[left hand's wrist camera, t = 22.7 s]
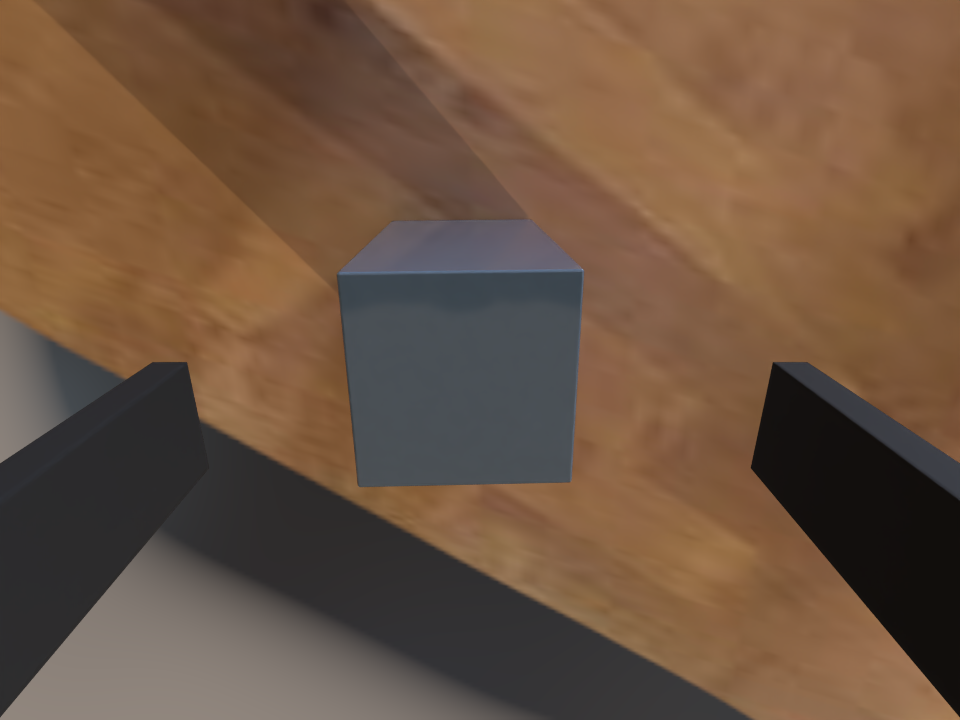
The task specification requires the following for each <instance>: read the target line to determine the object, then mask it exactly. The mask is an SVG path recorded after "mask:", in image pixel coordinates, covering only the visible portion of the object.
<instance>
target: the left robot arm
mask: <svg viewBox="0 0 960 720" xmlns="http://www.w3.org/2000/svg"><path fill="white" fill-rule="evenodd" d="M208 469H209V465H208V460H207V455H206V450H205V446H204V441H203V436H202V431H201V427H200V422H199V417H198V412H197V408H196V403H195V398H194V393H193V389H192V384H191V379H190V374H189V370H188V365H187V362H152V363H151V364H149V365H148V366H146V367H145V368H143V369H142V370H140V371H139V372H137V373H136V374H134V375H133V376H131V377H130V378H128V379H127V380H125V381H124V382H122V383H121V384H119V385H118V386H116V387H115V388H113V389H112V390H110V391H109V392H107V393H106V394H104V395H103V396H101V397H100V398H98V399H97V400H95V401H94V402H92V403H91V404H89V405H88V406H86V407H85V408H83V409H82V410H80V411H79V412H77V413H76V414H74V415H73V416H71V417H70V418H68V419H66V420H65V421H64V422H62V423H60V424H59V425H57V426H56V427H54V428H53V429H52V430H50V431H48V432H47V433H45V434H44V435H42V436H41V437H39V438H38V439H36V440H35V441H33V442H32V443H30V444H29V445H27V446H26V447H24V448H23V449H21V450H20V451H18V452H17V453H15V454H14V455H12V456H11V457H9V458H8V459H6V460H5V461H3V462H2V463H0V717H1V716H2V714H3V713H4V712H5V711H6V710H7V708H8V707H9V706H10V705H11V704H12V702H13V701H14V700H15V699H16V698H17V697H18V695H19V694H20V693H21V692H22V691H23V689H24V688H25V687H26V686H27V685H28V683H29V682H30V681H31V680H32V679H33V678H34V676H35V675H36V674H37V673H38V671H39V670H40V669H41V668H42V667H43V666H44V664H45V663H46V662H47V661H48V660H49V658H50V657H51V656H52V655H53V654H54V652H55V651H56V650H57V649H58V648H59V646H60V645H61V644H62V643H63V642H64V641H65V639H66V638H67V637H68V636H69V634H70V633H71V632H72V631H73V630H74V629H75V627H76V626H77V625H78V624H79V623H80V621H81V620H82V619H83V618H84V617H85V615H86V614H87V613H88V612H89V611H90V610H91V608H92V607H93V606H94V605H95V604H96V602H97V601H98V600H99V599H100V598H101V596H102V595H103V594H104V593H105V592H106V590H107V589H108V588H109V587H110V586H111V584H112V583H113V582H114V581H115V580H116V579H117V577H118V576H119V575H120V574H121V573H122V571H123V570H124V569H125V568H126V567H127V565H128V564H129V563H130V562H131V561H132V559H133V558H134V557H135V556H136V555H137V553H138V552H139V551H140V550H141V549H142V548H143V546H144V545H145V544H146V543H147V542H148V540H149V539H150V538H151V537H152V536H153V534H154V533H155V532H156V531H157V530H158V528H159V527H160V526H161V525H162V524H163V523H164V521H165V520H166V519H167V518H168V517H169V515H170V514H171V513H172V512H173V511H174V509H175V508H176V507H177V506H178V505H179V503H180V502H181V501H182V500H183V499H184V497H185V496H186V495H187V494H188V493H189V491H190V490H191V489H192V488H193V487H194V485H195V484H196V483H197V482H198V481H199V480H200V478H201V477H202V476H203V475H204V474H205V472H206V471H207V470H208ZM751 469H752V470H753V471H754V472H755V474H756V475H757V476H758V477H759V478H760V480H761V481H762V482H763V483H764V484H765V486H766V487H767V488H768V489H769V490H770V492H771V493H772V494H773V495H774V496H775V497H776V499H777V500H778V501H779V502H780V503H781V505H782V506H783V507H784V508H785V509H786V511H787V512H788V513H789V514H790V515H791V517H792V518H793V519H794V520H795V521H796V523H797V524H798V525H799V526H800V527H801V528H802V530H803V531H804V532H805V533H806V534H807V536H808V537H809V538H810V539H811V540H812V542H813V543H814V544H815V545H816V546H817V548H818V549H819V550H820V551H821V552H822V554H823V555H824V556H825V557H826V558H827V559H828V561H829V562H830V563H831V564H832V565H833V567H834V568H835V569H836V570H837V571H838V573H839V574H840V575H841V576H842V577H843V579H844V580H845V581H846V582H847V583H848V585H849V586H850V587H851V588H852V589H853V590H854V592H855V593H856V594H857V595H858V596H859V598H860V599H861V600H862V601H863V602H864V604H865V605H866V606H867V607H868V608H869V610H870V611H871V612H872V613H873V614H874V616H875V617H876V618H877V619H878V620H879V621H880V623H881V624H882V625H883V626H884V627H885V629H886V630H887V631H888V632H889V633H890V635H891V636H892V637H893V638H894V639H895V641H896V642H897V643H898V644H899V645H900V647H901V648H902V649H903V650H904V651H905V652H906V654H907V655H908V656H909V657H910V658H911V660H912V661H913V662H914V663H915V664H916V666H917V667H918V668H919V669H920V670H921V672H922V673H923V674H924V675H925V676H926V678H927V679H928V680H929V681H930V682H931V683H932V685H933V686H934V687H935V688H936V689H937V691H938V692H939V693H940V694H941V695H942V697H943V698H944V699H945V700H946V701H947V703H948V704H949V705H950V706H951V707H952V709H953V710H954V711H955V712H956V713H957V714H958V716H959V717H960V463H958V462H957V461H955V460H954V459H952V458H951V457H949V456H948V455H946V454H945V453H943V452H942V451H940V450H939V449H937V448H936V447H934V446H933V445H931V444H930V443H928V442H927V441H925V440H924V439H922V438H921V437H919V436H918V435H916V434H915V433H913V432H912V431H910V430H909V429H907V428H906V427H904V426H903V425H901V424H900V423H898V422H897V421H895V420H894V419H892V418H891V417H889V416H888V415H886V414H884V413H883V412H881V411H880V410H878V409H877V408H875V407H874V406H872V405H871V404H869V403H868V402H866V401H865V400H863V399H862V398H860V397H859V396H857V395H856V394H854V393H853V392H851V391H850V390H848V389H847V388H845V387H844V386H842V385H841V384H839V383H838V382H836V381H835V380H833V379H832V378H830V377H829V376H827V375H826V374H824V373H823V372H821V371H820V370H818V369H817V368H815V367H814V366H812V365H811V364H809V363H808V362H773V365H772V370H771V374H770V379H769V384H768V389H767V393H766V398H765V403H764V408H763V412H762V417H761V422H760V427H759V431H758V436H757V441H756V446H755V450H754V455H753V460H752V465H751Z"/></svg>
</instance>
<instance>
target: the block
mask: <svg viewBox="0 0 960 720" xmlns="http://www.w3.org/2000/svg"><path fill="white" fill-rule="evenodd" d="M337 283H338V292H339V302H340V312H341V322H342V332H343V342H344V352H345V362H346V372H347V382H348V392H349V402H350V412H351V421H352V431H353V441H354V451H355V461H356V471H357V481H358V486H359V487H385V486H429V485H473V484H518V483H562V482H571V480H572V465H573V448H574V432H575V415H576V399H577V382H578V365H579V349H580V332H581V316H582V299H583V283H584V270H583V269H582V268H581V267H580V266H579V265H578V264H577V263H576V262H575V261H574V260H573V259H572V258H571V257H570V256H569V255H568V254H567V253H566V252H565V251H564V250H563V249H561V248H560V247H559V246H558V245H557V244H556V243H555V242H554V241H553V240H552V239H551V238H550V237H549V236H548V235H547V234H546V233H545V232H544V231H543V230H542V229H541V228H540V227H539V226H538V225H537V224H536V223H534V222H533V221H532V220H531V219H529V220H435V221H392V222H391V223H389V224H388V225H387V226H386V227H385V228H384V229H383V230H382V231H381V232H380V233H379V234H378V235H377V236H376V237H375V238H374V239H373V240H372V241H370V242H369V243H368V244H367V245H366V246H365V247H364V248H363V249H362V250H361V251H360V252H359V253H358V254H357V255H356V256H355V257H354V258H353V259H351V260H350V261H349V262H348V263H347V264H346V265H345V266H344V267H343V268H342V269H341V270H340V271H339V272H338V273H337Z"/></svg>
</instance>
